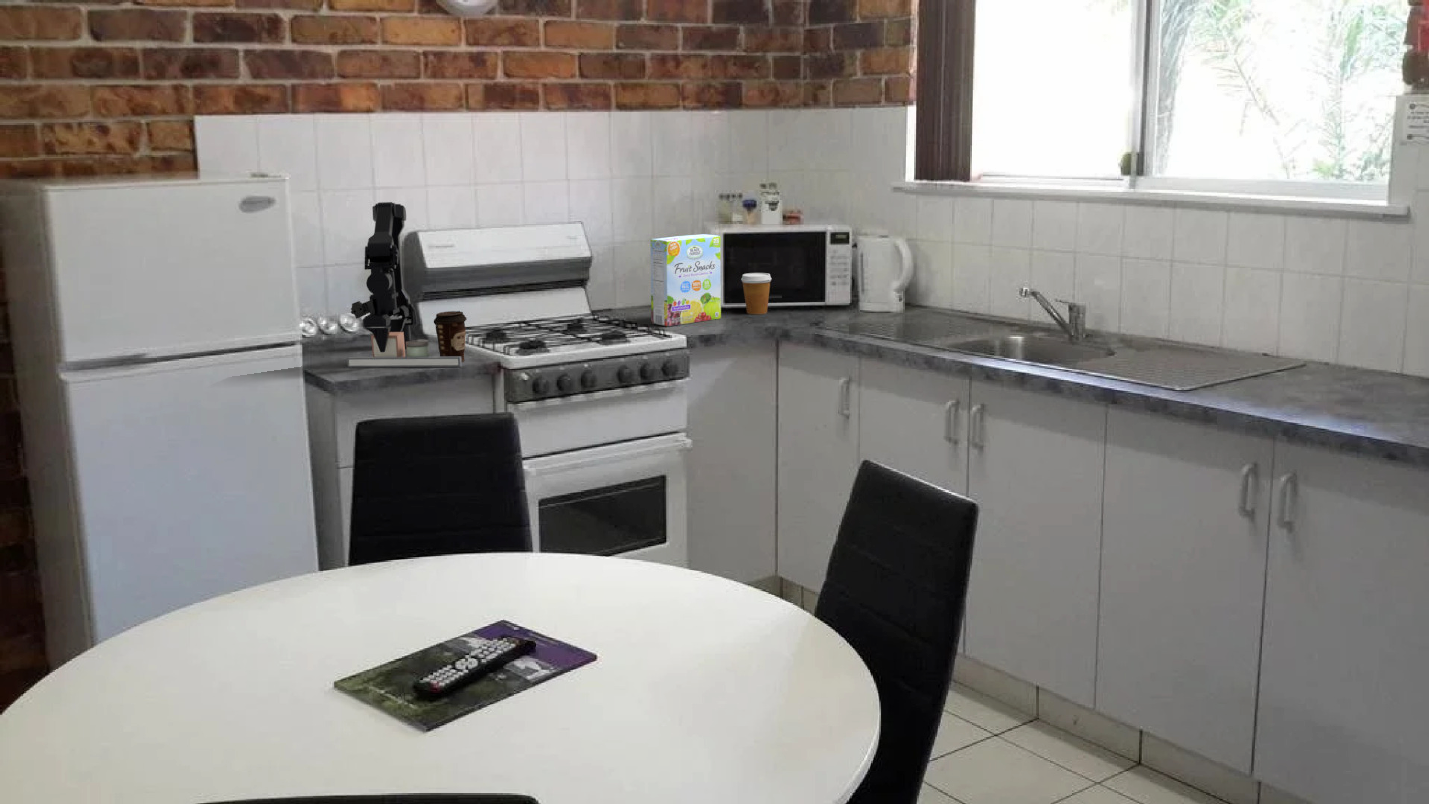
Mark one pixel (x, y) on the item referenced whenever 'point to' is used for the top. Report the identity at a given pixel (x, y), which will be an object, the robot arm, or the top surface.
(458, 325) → the coffee cup
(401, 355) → the tea box
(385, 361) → the rail
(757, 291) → the disposable coffee cup
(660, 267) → the snack box
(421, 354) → the spice jar
